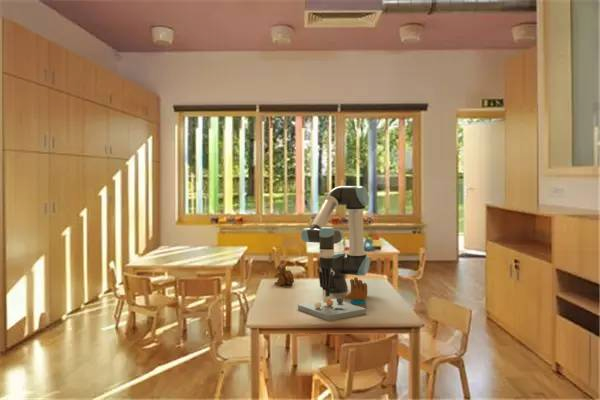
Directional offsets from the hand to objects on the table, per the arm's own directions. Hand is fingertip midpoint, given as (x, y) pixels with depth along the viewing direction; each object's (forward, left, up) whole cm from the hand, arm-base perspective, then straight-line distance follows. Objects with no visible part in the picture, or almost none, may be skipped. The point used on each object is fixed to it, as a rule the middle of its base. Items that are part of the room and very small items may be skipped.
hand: (326, 301), depth 260 cm
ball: (+3, 0, 0) cm, 3 cm away
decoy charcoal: (+1, +8, 0) cm, 8 cm away
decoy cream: (+3, -8, 0) cm, 8 cm away
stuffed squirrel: (-67, +18, -4) cm, 70 cm away
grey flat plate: (+4, 0, -4) cm, 6 cm away
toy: (-2, +22, -4) cm, 23 cm away
